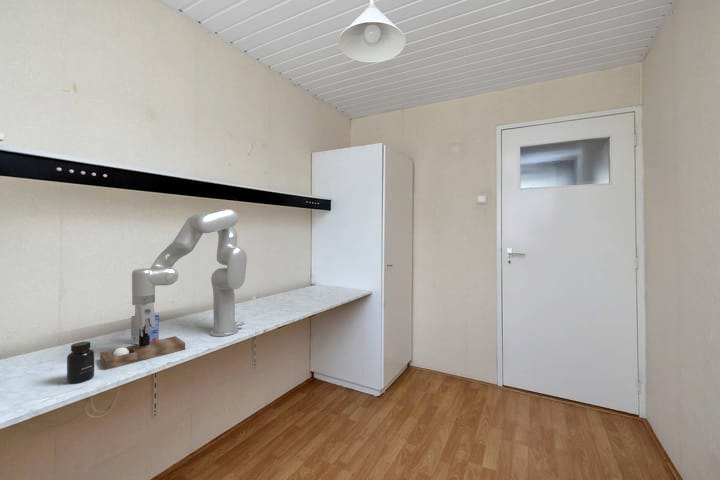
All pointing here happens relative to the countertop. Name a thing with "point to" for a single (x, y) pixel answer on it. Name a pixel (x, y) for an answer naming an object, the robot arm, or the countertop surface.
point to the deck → (142, 352)
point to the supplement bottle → (80, 363)
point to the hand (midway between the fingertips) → (144, 345)
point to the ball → (120, 351)
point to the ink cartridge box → (153, 333)
